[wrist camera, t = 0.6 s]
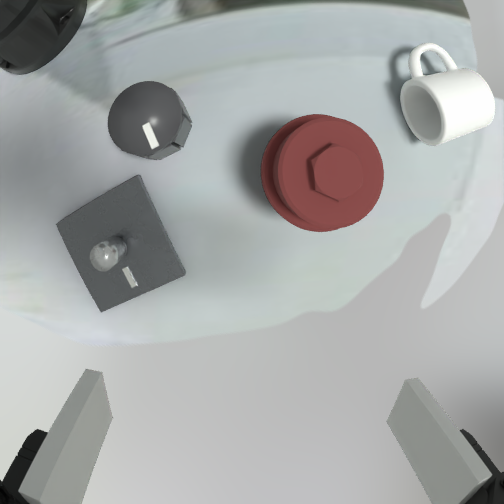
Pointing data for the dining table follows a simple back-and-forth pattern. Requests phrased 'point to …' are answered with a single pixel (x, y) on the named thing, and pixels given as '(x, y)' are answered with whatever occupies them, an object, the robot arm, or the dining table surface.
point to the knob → (149, 120)
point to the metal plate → (120, 245)
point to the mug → (444, 100)
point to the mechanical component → (322, 173)
